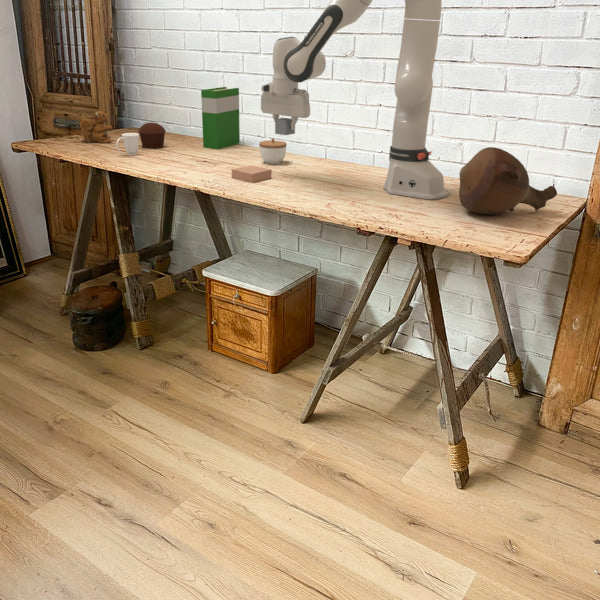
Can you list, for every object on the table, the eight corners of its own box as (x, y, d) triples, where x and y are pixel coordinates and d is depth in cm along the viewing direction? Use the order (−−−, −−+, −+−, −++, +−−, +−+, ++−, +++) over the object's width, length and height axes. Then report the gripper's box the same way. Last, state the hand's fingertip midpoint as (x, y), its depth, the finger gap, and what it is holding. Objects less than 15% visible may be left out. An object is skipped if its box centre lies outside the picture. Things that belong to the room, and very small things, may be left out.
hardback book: (226, 141, 286) (224, 86, 276) (239, 143, 283) (238, 87, 273) (203, 147, 272) (201, 89, 262) (217, 149, 268) (215, 91, 259)
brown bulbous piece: (454, 220, 180) (549, 237, 184) (479, 158, 169) (580, 177, 173) (440, 189, 197) (527, 206, 201) (461, 130, 185) (554, 149, 189)
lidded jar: (261, 165, 241) (261, 141, 237) (257, 160, 250) (257, 136, 246) (288, 165, 243) (289, 140, 239) (283, 159, 252) (283, 136, 249)
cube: (294, 133, 222) (295, 119, 220) (285, 135, 218) (285, 120, 216) (284, 132, 225) (284, 117, 223) (275, 133, 221) (275, 119, 219)
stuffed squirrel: (113, 143, 275) (110, 112, 270) (80, 144, 272) (76, 112, 267) (114, 139, 284) (111, 109, 279) (82, 139, 281) (78, 109, 276)
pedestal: (271, 177, 223) (271, 169, 221) (252, 182, 216) (252, 174, 214) (251, 173, 228) (251, 165, 227) (231, 177, 221) (231, 169, 220)
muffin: (134, 148, 266) (132, 124, 262) (146, 143, 276) (144, 120, 272) (160, 150, 264) (158, 126, 260) (171, 145, 274) (169, 122, 270)
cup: (144, 154, 254) (142, 134, 251) (122, 157, 248) (120, 137, 245) (135, 152, 259) (133, 132, 256) (113, 154, 253) (111, 134, 249)
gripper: (314, 89, 211) (313, 130, 217) (269, 85, 223) (269, 124, 229) (302, 90, 207) (302, 133, 213) (257, 86, 219) (258, 126, 224)
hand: (285, 128), depth 221 cm, fingers closed on cube, 5 cm apart
